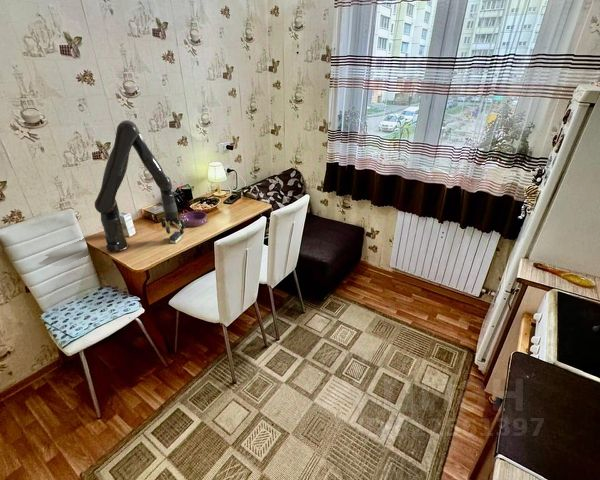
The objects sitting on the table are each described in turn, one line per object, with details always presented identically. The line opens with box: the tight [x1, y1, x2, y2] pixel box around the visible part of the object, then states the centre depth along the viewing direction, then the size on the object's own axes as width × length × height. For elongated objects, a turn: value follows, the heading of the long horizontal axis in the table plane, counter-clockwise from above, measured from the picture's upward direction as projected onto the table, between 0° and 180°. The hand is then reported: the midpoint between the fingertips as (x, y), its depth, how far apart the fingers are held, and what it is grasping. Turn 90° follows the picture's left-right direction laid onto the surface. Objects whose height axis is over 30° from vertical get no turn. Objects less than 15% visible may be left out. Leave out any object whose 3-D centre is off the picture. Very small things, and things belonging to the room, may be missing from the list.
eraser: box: [168, 230, 183, 244], centre depth 190 cm, size 8×4×4 cm, turn 173°
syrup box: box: [119, 211, 137, 238], centre depth 193 cm, size 6×6×14 cm
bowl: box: [180, 210, 208, 227], centre depth 214 cm, size 17×17×4 cm
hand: (175, 233), depth 189 cm, fingers open, 8 cm apart
